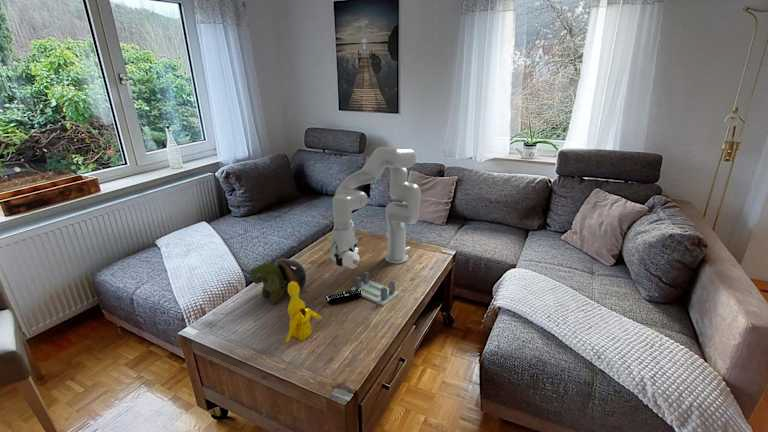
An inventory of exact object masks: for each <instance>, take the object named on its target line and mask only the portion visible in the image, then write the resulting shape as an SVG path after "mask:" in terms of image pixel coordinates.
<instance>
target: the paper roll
mask: <svg viewBox="0 0 768 432" xmlns="http://www.w3.org/2000/svg"><path fill="white" fill-rule="evenodd" d="M338 255H339V252H338ZM341 258H342V266H344V267H346V268H349V269H351V270H353V269H356V268H357V267H358V266H359V264H360V259H361V257H360V255H359V254H358V253H357V254H356V253H354V252H351V251H348V250H345V251H343V252H342V255H341ZM330 259H331V260H332V262H335V263H336V257H334V256H333V255H332V254H330Z"/></svg>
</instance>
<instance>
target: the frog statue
mask: <svg viewBox="0 0 768 432" xmlns="http://www.w3.org/2000/svg"><path fill="white" fill-rule="evenodd" d="M250 274H251V275H252V282H253V283H254V284H260V283H262V284H263V285H262V286H263V287H262V289H261V296H262V297H264V298H265V297H267V296H269V295H270V297H269V299H270V303H271V304H272V305H276V304H277V303H278V302H279V301H280V300H281V299H282V297H283V295H284V294H285V291H286V290H287V289H288V283H290V282H292V281H294V282H297V283H298V285H299V288H300V292H301V291H302V290H303V289H304V288H305V287H306V283H307V271H306V269H305V267H304V266H303V265H302V264H301V262H299V261H297V260H294V259H288V258H277V259H276V261H275V263H270V262H269V263H268V262H266V263H261V264H260V265H258V266H257V267H256V268H251V269H250Z"/></svg>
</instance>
